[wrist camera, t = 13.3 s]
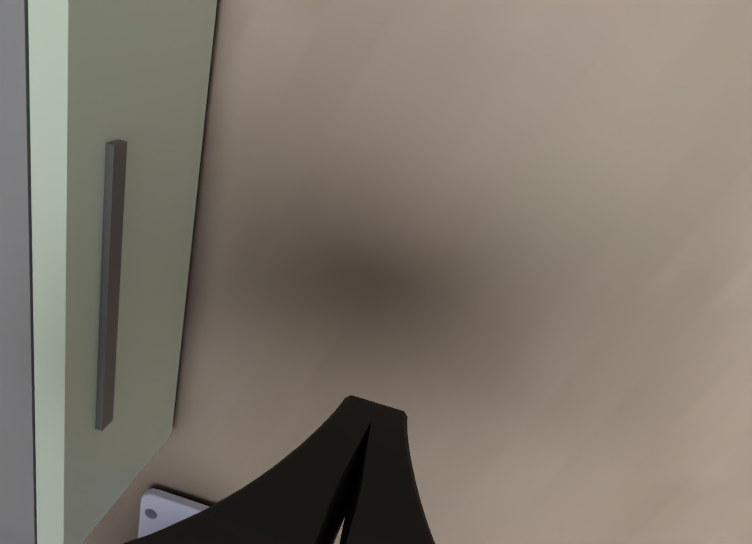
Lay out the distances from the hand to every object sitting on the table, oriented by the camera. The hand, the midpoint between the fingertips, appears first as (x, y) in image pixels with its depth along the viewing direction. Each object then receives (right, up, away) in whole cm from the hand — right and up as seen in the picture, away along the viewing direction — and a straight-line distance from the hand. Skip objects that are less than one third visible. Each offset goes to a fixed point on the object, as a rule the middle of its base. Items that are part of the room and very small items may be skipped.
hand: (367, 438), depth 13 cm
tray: (-11, +6, +7) cm, 15 cm away
